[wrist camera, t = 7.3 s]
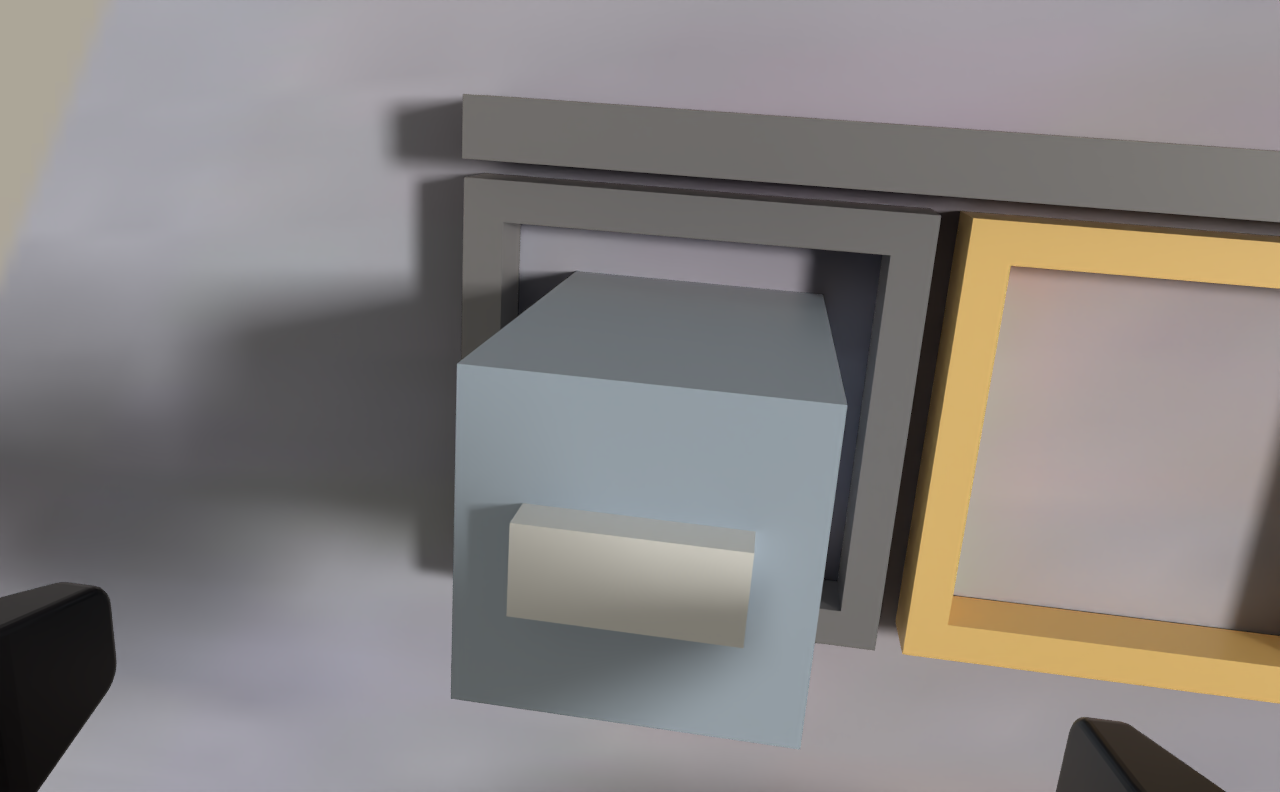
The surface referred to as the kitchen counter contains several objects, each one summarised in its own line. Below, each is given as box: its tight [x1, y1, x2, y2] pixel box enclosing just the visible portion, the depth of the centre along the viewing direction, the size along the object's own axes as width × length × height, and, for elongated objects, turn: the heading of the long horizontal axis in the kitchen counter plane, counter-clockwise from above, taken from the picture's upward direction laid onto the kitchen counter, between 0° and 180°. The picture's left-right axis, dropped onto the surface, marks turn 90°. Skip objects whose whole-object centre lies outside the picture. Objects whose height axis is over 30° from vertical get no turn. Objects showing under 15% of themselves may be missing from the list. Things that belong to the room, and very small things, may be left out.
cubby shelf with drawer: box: [461, 94, 1280, 703], centre depth 17 cm, size 9×16×2 cm, turn 86°
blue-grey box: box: [451, 271, 847, 749], centre depth 15 cm, size 4×4×8 cm
